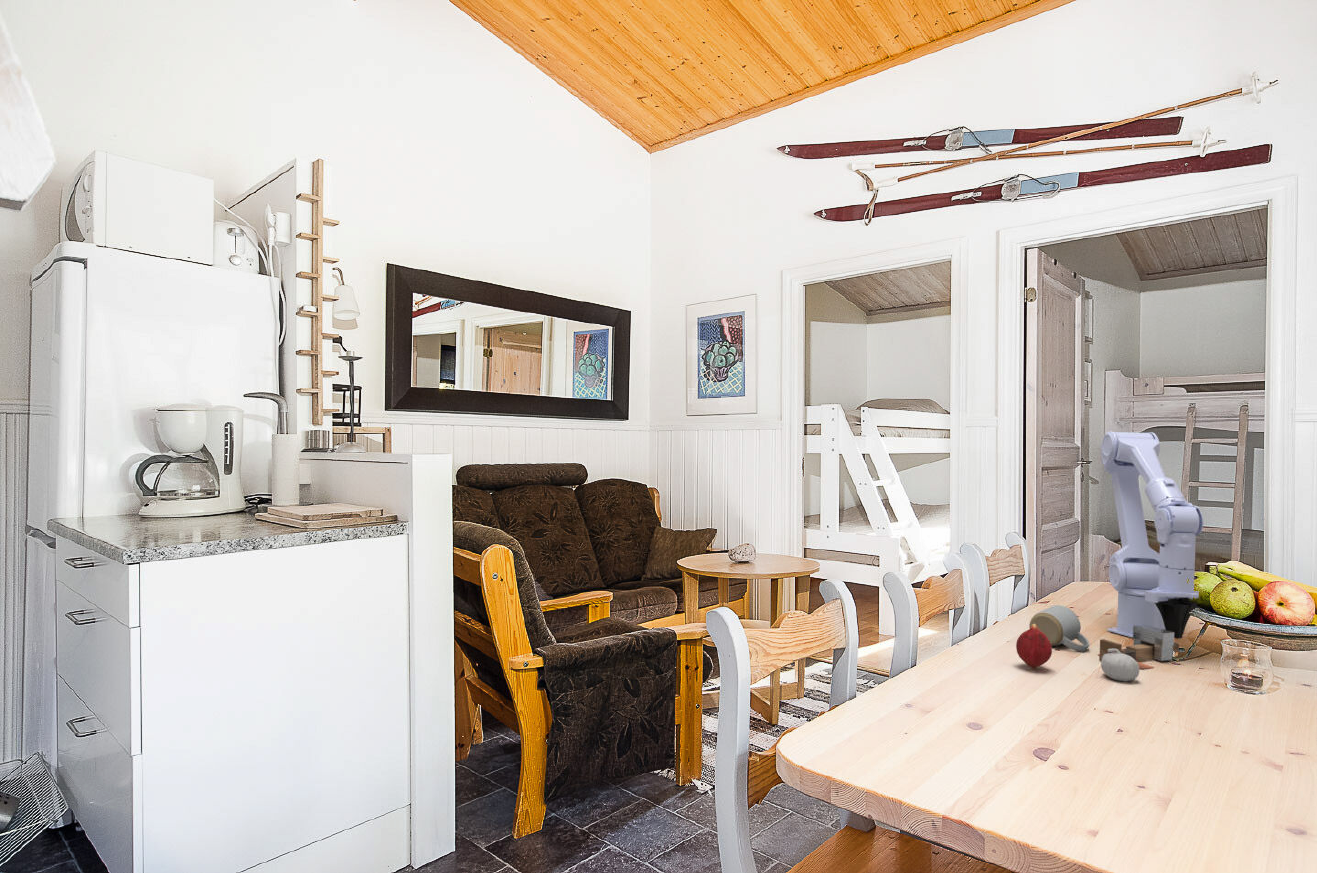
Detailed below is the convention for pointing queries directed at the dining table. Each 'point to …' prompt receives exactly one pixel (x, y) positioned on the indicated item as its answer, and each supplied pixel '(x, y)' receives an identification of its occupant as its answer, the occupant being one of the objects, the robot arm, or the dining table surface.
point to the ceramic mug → (1060, 627)
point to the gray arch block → (1155, 640)
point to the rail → (1133, 651)
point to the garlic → (1119, 666)
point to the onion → (1034, 647)
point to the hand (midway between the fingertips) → (1174, 637)
